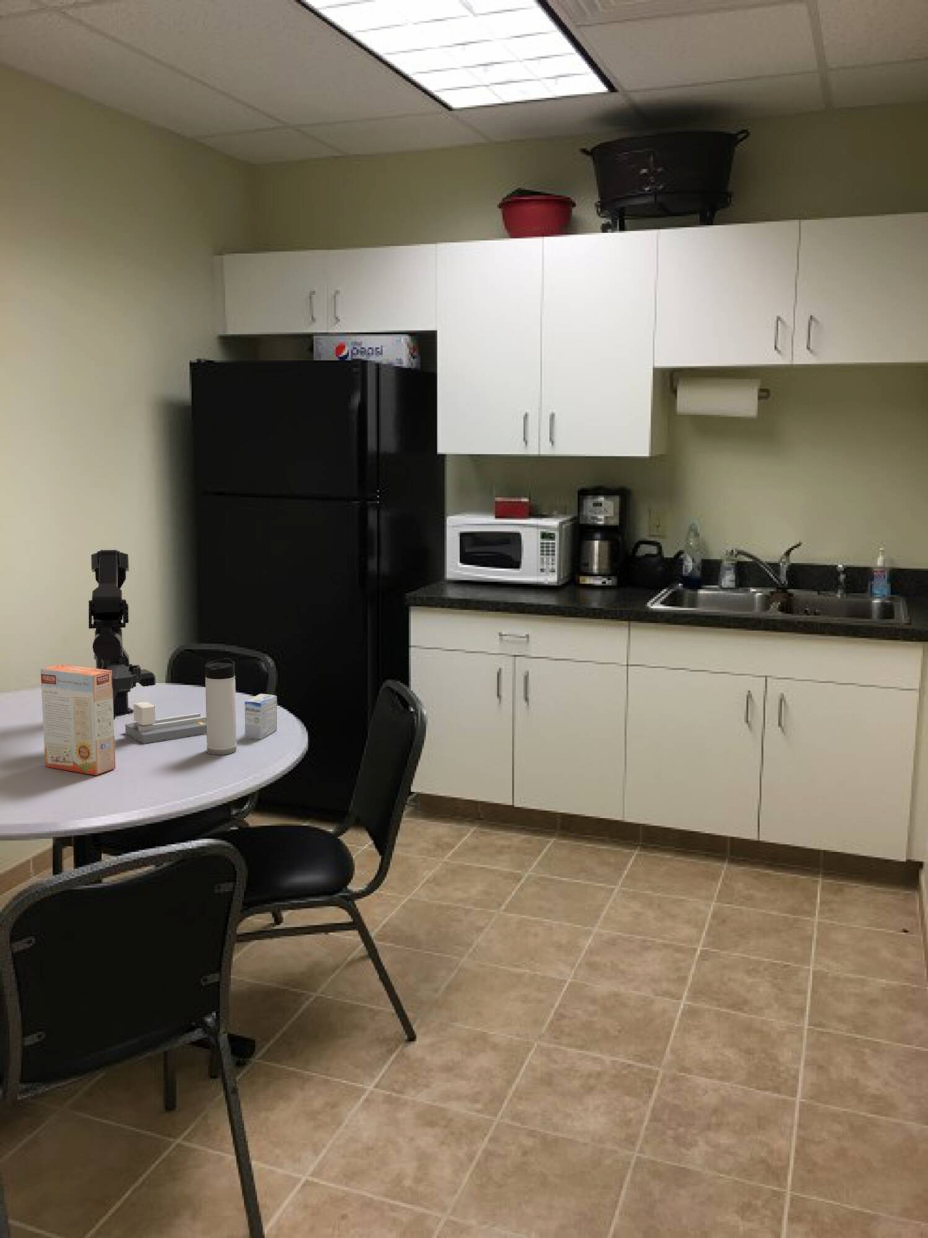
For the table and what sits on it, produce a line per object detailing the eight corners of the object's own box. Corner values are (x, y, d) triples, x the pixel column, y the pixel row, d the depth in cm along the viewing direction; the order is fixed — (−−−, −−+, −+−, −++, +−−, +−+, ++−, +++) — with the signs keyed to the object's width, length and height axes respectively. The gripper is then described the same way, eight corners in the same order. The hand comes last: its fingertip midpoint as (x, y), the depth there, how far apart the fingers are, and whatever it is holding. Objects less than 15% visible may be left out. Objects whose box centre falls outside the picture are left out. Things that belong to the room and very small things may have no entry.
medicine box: (260, 729, 251) (259, 693, 250) (277, 731, 250) (277, 694, 249) (244, 738, 244) (243, 701, 242) (262, 740, 243) (261, 702, 241)
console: (125, 732, 246) (125, 720, 246) (195, 721, 257) (194, 709, 256) (143, 744, 238) (143, 730, 237) (215, 732, 248) (214, 719, 247)
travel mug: (242, 748, 236) (241, 659, 232) (226, 756, 230) (224, 665, 226) (217, 745, 238) (216, 656, 234) (201, 753, 232) (199, 662, 228)
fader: (134, 726, 244) (133, 703, 243) (147, 724, 246) (146, 701, 245) (142, 731, 240) (141, 708, 239) (155, 729, 242) (154, 706, 241)
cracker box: (117, 769, 220) (113, 669, 216) (96, 777, 214) (91, 675, 211) (66, 759, 226) (61, 662, 222) (43, 767, 220) (38, 667, 217)
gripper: (78, 662, 224) (81, 734, 226) (164, 652, 235) (166, 721, 238) (61, 653, 232) (64, 723, 235) (145, 644, 244) (147, 711, 246)
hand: (111, 719), depth 238 cm, fingers closed
